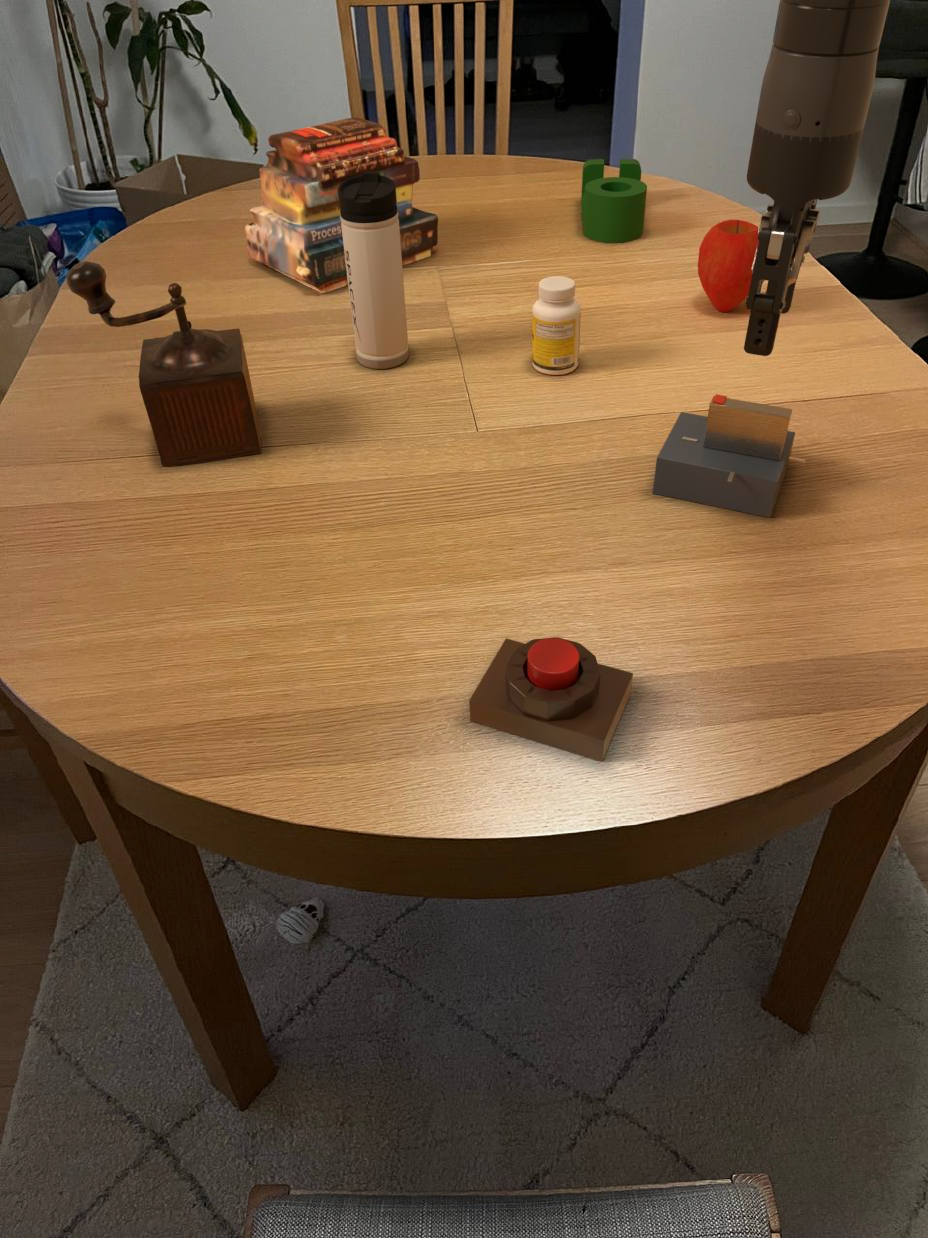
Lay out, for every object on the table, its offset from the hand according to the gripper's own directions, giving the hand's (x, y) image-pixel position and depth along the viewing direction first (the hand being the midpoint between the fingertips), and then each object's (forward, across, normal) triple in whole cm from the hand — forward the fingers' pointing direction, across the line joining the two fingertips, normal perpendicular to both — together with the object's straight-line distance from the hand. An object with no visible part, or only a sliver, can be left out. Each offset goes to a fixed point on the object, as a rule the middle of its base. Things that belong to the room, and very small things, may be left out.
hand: (767, 330), depth 78 cm
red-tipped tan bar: (+12, 0, 0) cm, 12 cm away
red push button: (+12, -33, +7) cm, 36 cm away
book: (+17, +39, +64) cm, 77 cm away
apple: (+16, +40, +9) cm, 44 cm away
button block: (+16, -33, +7) cm, 37 cm away
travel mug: (+16, +13, +44) cm, 49 cm away
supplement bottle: (+16, +18, +24) cm, 35 cm away
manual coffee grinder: (+16, -11, +56) cm, 59 cm away
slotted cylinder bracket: (+17, +66, +32) cm, 75 cm away
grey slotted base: (+16, +1, +2) cm, 16 cm away
